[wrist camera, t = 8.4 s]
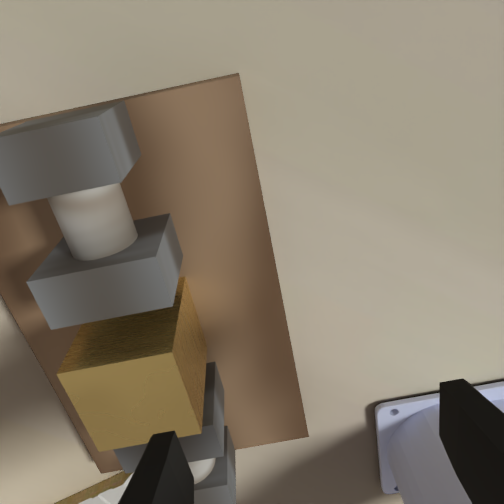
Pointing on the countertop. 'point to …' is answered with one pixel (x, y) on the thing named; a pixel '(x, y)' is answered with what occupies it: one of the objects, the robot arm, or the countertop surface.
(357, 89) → the countertop surface
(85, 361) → the block
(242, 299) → the shaft base
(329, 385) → the countertop surface
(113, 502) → the baseboard molding
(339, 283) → the countertop surface
